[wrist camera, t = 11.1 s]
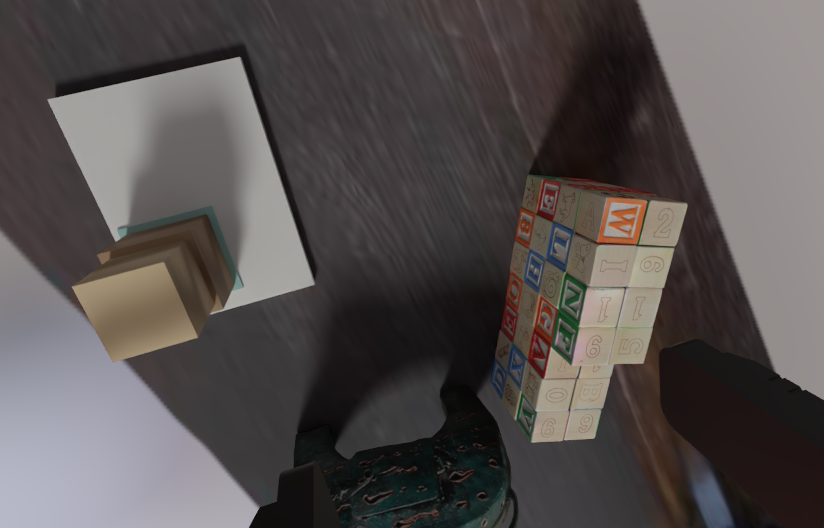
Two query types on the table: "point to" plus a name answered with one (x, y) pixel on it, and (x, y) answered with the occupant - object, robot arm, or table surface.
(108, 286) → the oak cube
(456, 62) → the table surface
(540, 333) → the stack of blocks
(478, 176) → the table surface
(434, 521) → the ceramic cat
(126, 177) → the build board
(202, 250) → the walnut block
